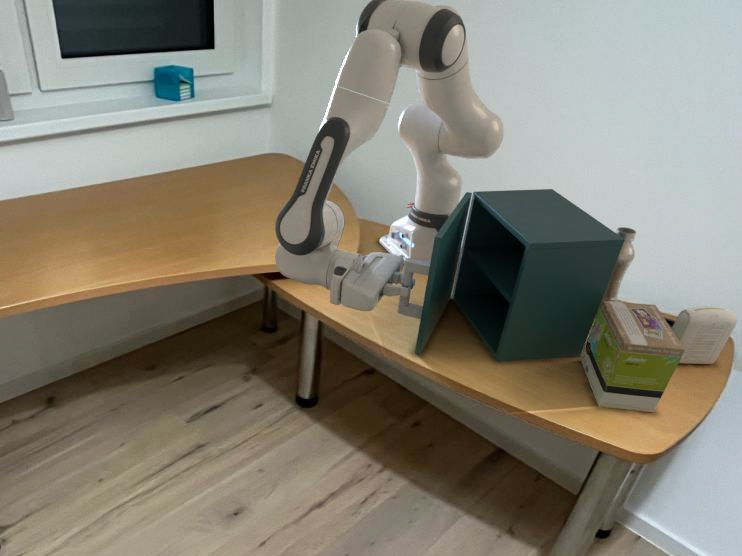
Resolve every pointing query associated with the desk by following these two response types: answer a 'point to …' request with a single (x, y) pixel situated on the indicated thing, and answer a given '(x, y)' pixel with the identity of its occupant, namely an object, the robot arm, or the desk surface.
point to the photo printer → (703, 332)
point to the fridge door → (436, 273)
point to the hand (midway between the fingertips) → (411, 288)
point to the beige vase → (620, 264)
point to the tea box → (630, 356)
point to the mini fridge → (533, 273)
